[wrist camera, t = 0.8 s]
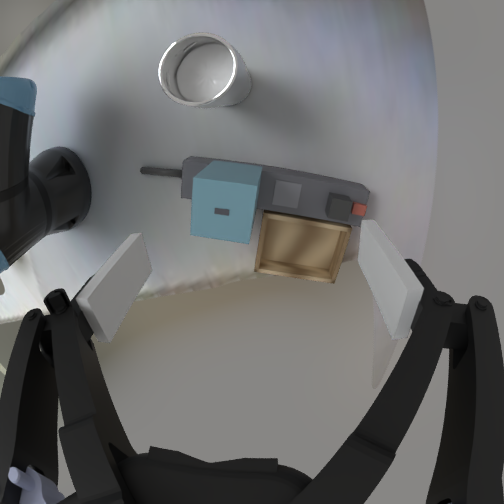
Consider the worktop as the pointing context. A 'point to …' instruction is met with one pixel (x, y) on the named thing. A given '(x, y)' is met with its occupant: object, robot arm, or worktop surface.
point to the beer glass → (204, 72)
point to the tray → (301, 246)
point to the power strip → (289, 191)
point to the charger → (225, 201)
